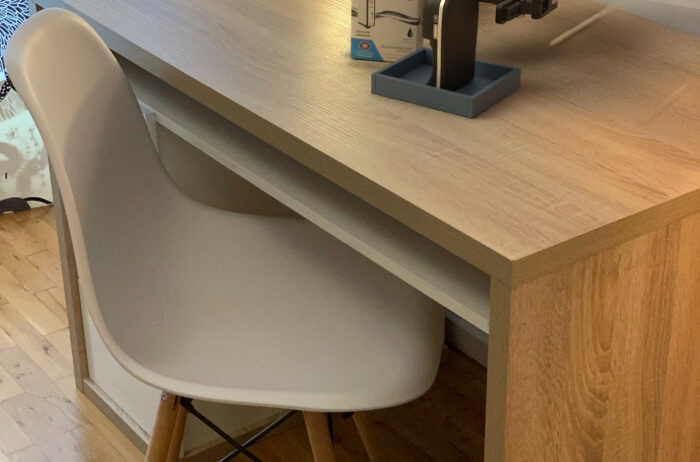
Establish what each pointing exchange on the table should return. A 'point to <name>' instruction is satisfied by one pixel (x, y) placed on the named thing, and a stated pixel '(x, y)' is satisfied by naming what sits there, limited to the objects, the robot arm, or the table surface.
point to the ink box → (385, 29)
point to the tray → (468, 100)
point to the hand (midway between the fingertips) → (464, 8)
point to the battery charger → (451, 41)
